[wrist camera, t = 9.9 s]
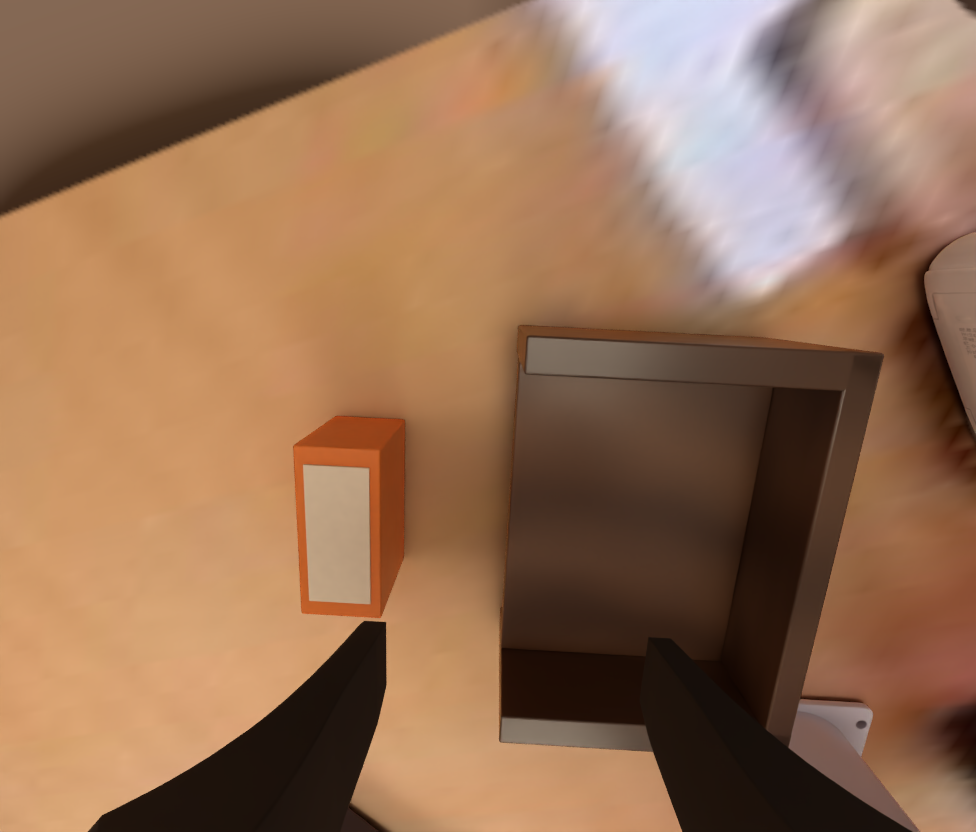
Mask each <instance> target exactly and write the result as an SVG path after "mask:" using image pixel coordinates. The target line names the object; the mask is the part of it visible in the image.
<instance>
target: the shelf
mask: <svg viewBox="0 0 976 832" xmlns="http://www.w3.org/2000/svg"><path fill="white" fill-rule="evenodd" d="M517 353H518V356H519V358H518V368H517V384H516V399H515V415H514V431H513V446H512V462H511V478H510V493H509V509H508V525H507V540H506V556H505V572H504V587H503V603H502V607H501V609H500V625H499V741H500V742H503V743H519V744H535V745H551V746H567V747H583V748H599V749H615V750H631V751H647V752H653V750H652V747H651V744H650V741H649V738H648V734H647V730H646V726H645V722H644V717H643V713H642V709H641V704H640V693H641V685H642V678H643V671H644V664H645V657H646V650H647V643H648V637H655V638H671V639H672V640H673V641H674V642H675V643H676V644H677V645H678V646H679V647H680V648H681V649H682V650H683V651H684V652H685V653H686V654H687V655H688V656H689V657H690V658H691V659H692V660H693V661H694V662H695V663H696V664H697V665H698V666H699V667H700V668H701V669H702V670H703V671H704V672H705V673H706V674H707V675H708V676H709V677H710V678H711V679H712V680H713V681H714V682H715V683H716V684H717V685H718V686H719V687H720V688H721V689H722V690H723V691H724V692H725V693H726V694H727V695H728V696H729V697H730V698H731V699H733V700H734V701H735V702H736V703H737V704H738V705H739V706H740V707H741V708H742V709H743V710H744V711H746V712H747V713H748V714H749V715H750V716H751V717H752V718H754V719H755V720H756V721H757V722H758V723H759V724H760V725H762V726H763V727H764V728H765V729H766V730H767V731H768V732H770V733H771V734H772V735H773V736H774V737H776V738H777V739H778V740H779V741H781V742H782V743H783V744H784V745H786V746H787V747H788V748H789V744H790V740H791V734H792V730H793V726H794V722H795V718H796V714H797V710H798V706H799V701H800V697H801V693H802V689H803V685H804V681H805V677H806V673H807V669H808V665H809V660H810V656H811V652H812V648H813V644H814V640H815V636H816V632H817V628H818V624H819V619H820V615H821V611H822V607H823V603H824V599H825V595H826V591H827V587H828V583H829V579H830V574H831V570H832V566H833V562H834V558H835V554H836V550H837V546H838V542H839V538H840V533H841V529H842V525H843V521H844V517H845V513H846V509H847V505H848V501H849V497H850V492H851V488H852V484H853V480H854V476H855V472H856V468H857V464H858V460H859V456H860V452H861V447H862V443H863V439H864V435H865V431H866V427H867V423H868V419H869V415H870V411H871V406H872V402H873V398H874V394H875V390H876V386H877V382H878V378H879V374H880V370H881V366H882V362H883V358H884V354H882V353H878V352H870V351H863V350H855V349H848V348H840V347H832V346H825V345H817V344H810V343H802V342H795V341H787V340H779V339H772V338H763V337H744V336H724V335H705V334H685V333H665V332H646V331H626V330H607V329H587V328H567V327H548V326H528V325H519V327H518V340H517Z"/></svg>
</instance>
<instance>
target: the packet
mask: <svg viewBox="0 0 976 832" xmlns="http://www.w3.org/2000/svg"><path fill="white" fill-rule="evenodd" d="M293 450H294V470H295V490H296V510H297V530H298V551H299V571H300V591H301V611H302V613H304V614H321V615H338V616H355V617H372V618H381V616H382V614H383V611H384V609H385V606H386V603H387V601H388V598H389V595H390V593H391V590H392V587H393V585H394V582H395V579H396V577H397V574H398V572H399V569H400V566H401V564H402V561H403V558H404V483H405V420H403V419H385V418H366V417H347V416H335V417H334V418H332V419H331V420H329V421H328V422H327V423H325V424H324V425H322V426H321V427H319V428H318V429H316V430H315V431H313V432H312V433H311V434H309V435H308V436H306V437H305V438H303V439H302V440H300V441H299V442H298V443H296V444H295V445H294V446H293Z"/></svg>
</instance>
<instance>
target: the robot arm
mask: <svg viewBox="0 0 976 832" xmlns="http://www.w3.org/2000/svg"><path fill="white" fill-rule="evenodd" d="M385 689H386V622H374V621H364V622H362V623H361V624H360V625H359V626H358V627H357V628H356V630H355V631H354V632H353V633H352V634H351V635H350V636H349V637H348V638H347V640H346V641H345V642H344V643H343V644H342V645H341V646H340V647H339V648H338V649H337V650H336V651H335V652H334V654H333V655H332V656H331V657H330V658H329V659H328V660H327V661H326V662H325V663H324V664H323V665H322V666H321V667H320V668H319V669H318V670H317V671H316V672H315V673H314V674H313V675H312V676H311V677H310V678H309V679H308V680H307V681H306V682H304V683H303V684H302V685H301V686H300V687H299V688H298V689H297V690H296V691H295V692H294V693H293V694H291V695H290V696H289V697H288V698H287V699H286V700H285V701H284V702H283V703H281V704H280V705H279V706H278V707H277V708H276V709H274V710H273V711H272V712H271V713H269V714H268V715H267V716H266V717H264V718H263V719H262V720H261V721H259V722H258V723H257V724H256V725H254V726H253V727H252V728H250V729H249V730H248V731H246V732H245V733H243V734H242V735H240V736H239V737H238V738H236V739H235V740H233V741H232V742H230V743H229V744H227V745H226V746H225V747H223V748H222V749H220V750H219V751H217V752H216V753H214V754H213V755H211V756H210V757H208V758H207V759H205V760H203V761H202V762H200V763H198V764H197V765H195V766H194V767H192V768H190V769H189V770H187V771H185V772H184V773H182V774H180V775H178V776H177V777H175V778H173V779H172V780H170V781H168V782H166V783H164V784H163V785H161V786H159V787H157V788H155V789H153V790H151V791H150V792H148V793H146V794H144V795H142V796H140V797H138V798H136V799H134V800H132V801H130V802H128V803H126V804H124V805H122V806H120V807H118V808H116V809H114V810H112V811H110V812H108V813H106V814H104V815H102V816H101V817H100V818H99V820H98V821H97V822H96V823H95V824H94V825H93V826H92V828H91V829H90V830H89V831H88V832H340V831H341V828H342V825H343V822H344V818H345V815H346V812H347V810H348V807H349V804H350V801H351V798H352V795H353V793H354V790H355V787H356V784H357V781H358V778H359V775H360V773H361V770H362V767H363V764H364V761H365V758H366V756H367V753H368V750H369V747H370V744H371V741H372V738H373V735H374V732H375V729H376V726H377V723H378V719H379V715H380V711H381V707H382V702H383V698H384V693H385ZM640 704H641V709H642V713H643V717H644V722H645V726H646V730H647V734H648V738H649V741H650V744H651V747H652V750H653V753H654V755H655V758H656V761H657V764H658V766H659V769H660V772H661V775H662V778H663V780H664V783H665V786H666V788H667V791H668V794H669V797H670V799H671V802H672V805H673V807H674V810H675V813H676V816H677V818H678V821H679V824H680V827H681V829H682V832H920V831H919V829H918V828H917V827H916V826H915V824H914V823H913V822H912V821H911V819H910V818H909V817H908V816H907V814H906V813H905V812H904V811H903V809H902V808H901V807H900V805H899V804H898V803H897V802H896V800H895V799H894V798H893V797H892V795H891V794H890V793H889V792H888V790H887V789H886V788H885V787H884V785H883V784H882V783H881V782H880V780H879V779H878V778H877V777H876V775H875V774H874V773H873V771H872V770H871V769H870V768H869V766H868V765H867V764H866V763H865V761H864V760H863V759H862V758H861V755H862V752H863V749H864V745H865V742H866V738H867V735H868V731H869V728H870V724H871V721H872V718H873V712H872V710H871V709H870V708H869V707H868V706H867V705H866V704H864V703H857V702H841V701H824V700H808V699H800V701H799V706H798V710H797V714H796V718H795V722H794V726H793V730H792V734H791V740H790V744H789V748H788V747H787V746H786V745H784V744H783V743H782V742H781V741H779V740H778V739H777V738H776V737H774V736H773V735H772V734H771V733H770V732H768V731H767V730H766V729H765V728H764V727H763V726H762V725H760V724H759V723H758V722H757V721H756V720H755V719H754V718H752V717H751V716H750V715H749V714H748V713H747V712H746V711H744V710H743V709H742V708H741V707H740V706H739V705H738V704H737V703H736V702H735V701H734V700H733V699H731V698H730V697H729V696H728V695H727V694H726V693H725V692H724V691H723V690H722V689H721V688H720V687H719V686H718V685H717V684H716V683H715V682H714V681H713V680H712V679H711V678H710V677H709V676H708V675H707V674H706V673H705V672H704V671H703V670H702V669H701V668H700V667H699V666H698V665H697V664H696V663H695V662H694V661H693V660H692V659H691V658H690V657H689V656H688V655H687V654H686V653H685V652H684V651H683V650H682V649H681V648H680V647H679V646H678V645H677V644H676V643H675V642H674V641H673V640H672V639H671V638H655V637H648V643H647V650H646V657H645V664H644V671H643V678H642V685H641V693H640Z"/></svg>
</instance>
